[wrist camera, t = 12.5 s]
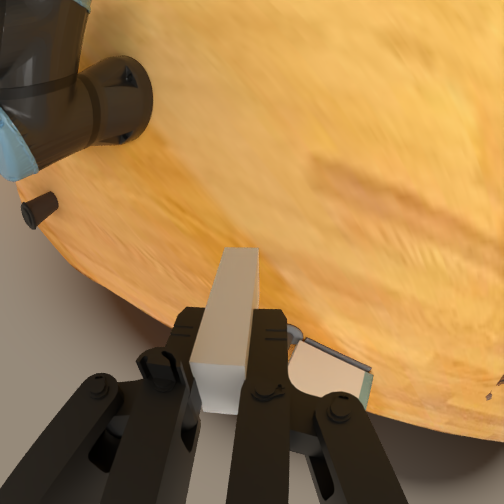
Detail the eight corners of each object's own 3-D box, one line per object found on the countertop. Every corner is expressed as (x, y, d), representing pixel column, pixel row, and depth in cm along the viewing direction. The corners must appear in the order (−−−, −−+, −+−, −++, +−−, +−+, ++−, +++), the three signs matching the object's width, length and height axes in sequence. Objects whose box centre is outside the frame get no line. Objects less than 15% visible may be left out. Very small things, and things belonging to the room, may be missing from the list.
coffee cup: (64, 209, 64) (35, 228, 56) (55, 216, 68) (29, 234, 61) (51, 183, 61) (21, 200, 53) (43, 191, 65) (16, 208, 57)
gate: (282, 336, 52) (241, 415, 39) (286, 331, 51) (244, 413, 38) (368, 377, 49) (346, 459, 36) (373, 373, 48) (352, 457, 35)
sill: (273, 334, 54) (272, 335, 53) (282, 319, 50) (281, 321, 50) (361, 376, 50) (361, 377, 50) (375, 364, 47) (375, 366, 47)
